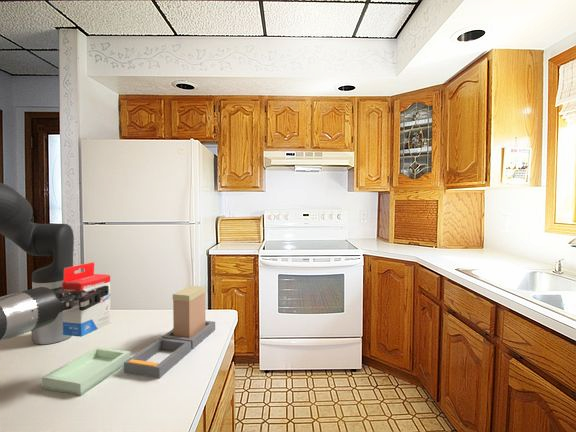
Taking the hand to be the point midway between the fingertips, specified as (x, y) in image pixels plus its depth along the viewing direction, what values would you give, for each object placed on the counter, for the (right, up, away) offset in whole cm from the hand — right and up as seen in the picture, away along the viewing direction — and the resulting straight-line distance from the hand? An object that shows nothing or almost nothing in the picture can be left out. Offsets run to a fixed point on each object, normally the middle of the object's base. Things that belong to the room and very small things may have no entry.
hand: (97, 289), depth 73 cm
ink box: (-1, -9, -2) cm, 9 cm away
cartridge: (+16, -18, +18) cm, 31 cm away
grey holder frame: (+15, -19, +11) cm, 26 cm away
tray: (-1, -19, -2) cm, 19 cm away
